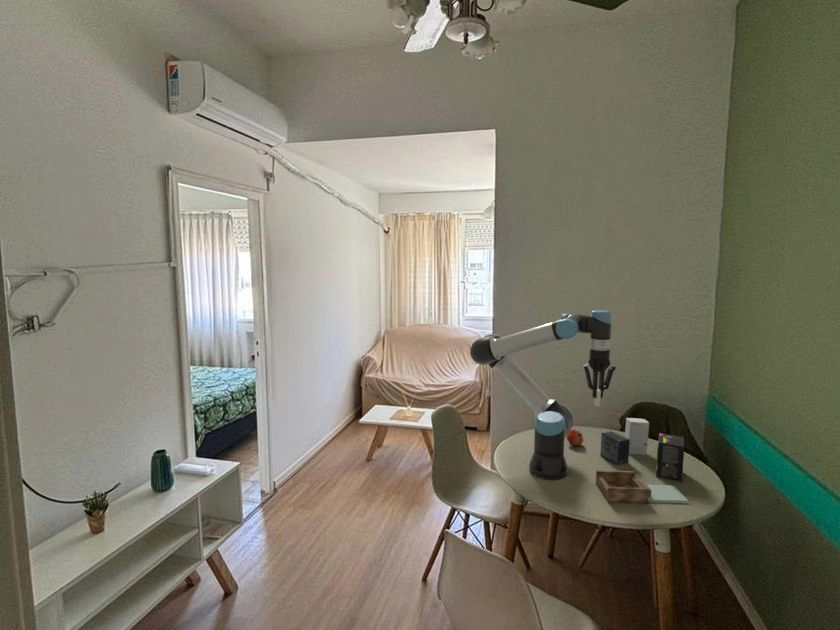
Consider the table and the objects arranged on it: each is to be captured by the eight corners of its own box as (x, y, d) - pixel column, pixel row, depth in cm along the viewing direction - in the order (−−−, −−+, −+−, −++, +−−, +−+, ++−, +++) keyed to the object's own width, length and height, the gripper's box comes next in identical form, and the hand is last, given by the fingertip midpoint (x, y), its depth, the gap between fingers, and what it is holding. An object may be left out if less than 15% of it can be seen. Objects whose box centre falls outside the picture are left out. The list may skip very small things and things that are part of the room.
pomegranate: (563, 448, 222) (574, 442, 214) (560, 433, 226) (570, 426, 217) (578, 449, 224) (589, 443, 215) (575, 433, 227) (585, 427, 219)
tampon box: (656, 466, 199) (658, 432, 197) (681, 470, 194) (684, 436, 192) (655, 477, 189) (657, 441, 187) (682, 482, 185) (684, 446, 183)
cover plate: (647, 503, 170) (648, 493, 170) (635, 488, 181) (636, 478, 181) (687, 504, 169) (688, 494, 169) (673, 489, 180) (674, 479, 180)
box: (608, 502, 169) (608, 488, 169) (595, 483, 183) (596, 470, 183) (648, 503, 169) (649, 489, 168) (632, 484, 183) (633, 471, 182)
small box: (629, 463, 202) (631, 439, 200) (617, 465, 199) (618, 441, 198) (611, 453, 211) (612, 430, 210) (599, 455, 209) (600, 432, 208)
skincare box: (628, 454, 210) (629, 422, 208) (623, 448, 216) (625, 417, 214) (647, 455, 209) (649, 422, 207) (642, 449, 215) (644, 417, 213)
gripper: (586, 350, 188) (583, 408, 191) (619, 350, 187) (616, 408, 190) (580, 346, 196) (578, 402, 199) (613, 347, 195) (610, 402, 198)
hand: (597, 405), depth 195 cm, fingers closed
